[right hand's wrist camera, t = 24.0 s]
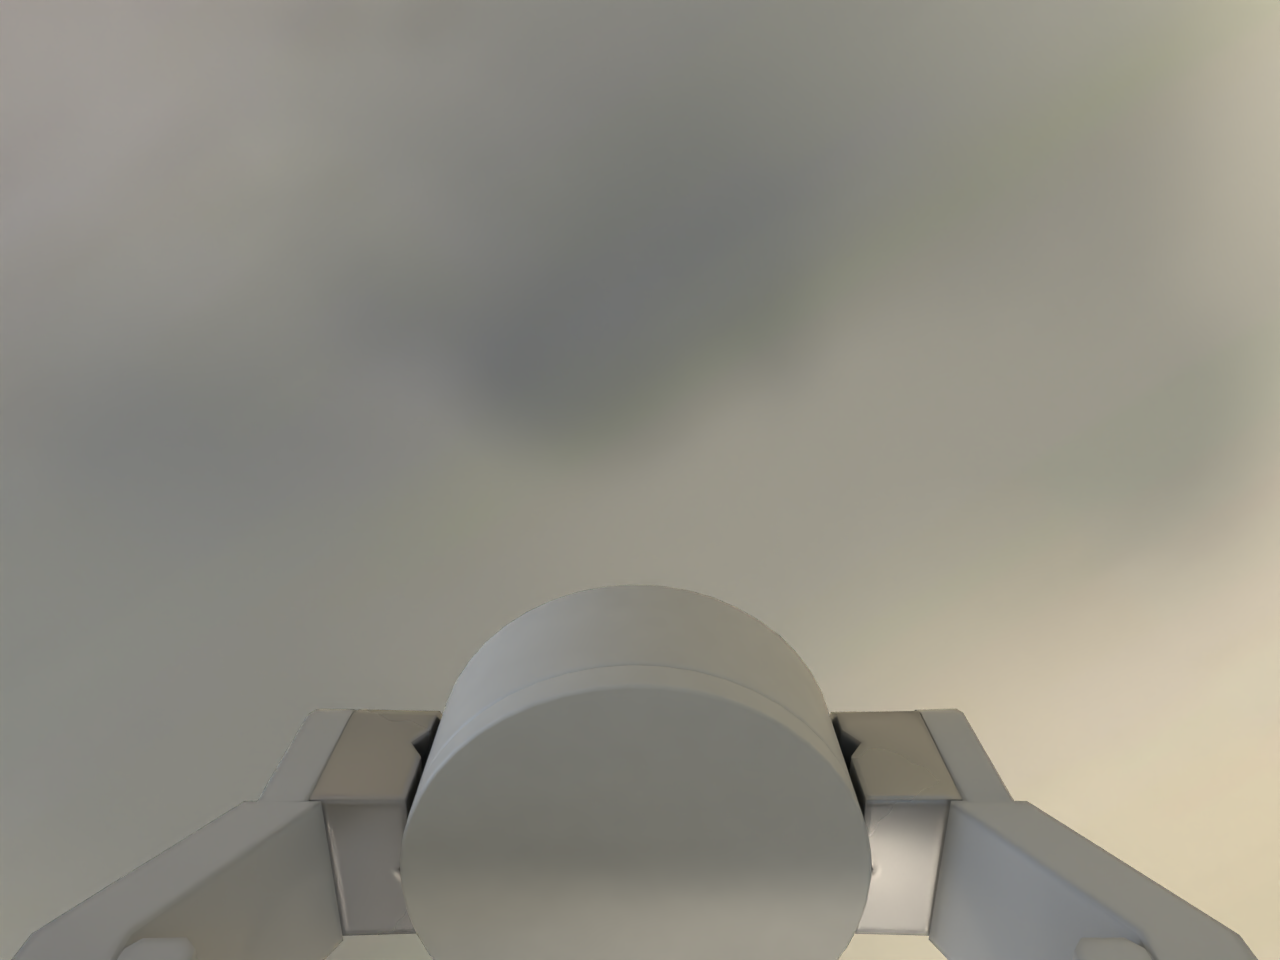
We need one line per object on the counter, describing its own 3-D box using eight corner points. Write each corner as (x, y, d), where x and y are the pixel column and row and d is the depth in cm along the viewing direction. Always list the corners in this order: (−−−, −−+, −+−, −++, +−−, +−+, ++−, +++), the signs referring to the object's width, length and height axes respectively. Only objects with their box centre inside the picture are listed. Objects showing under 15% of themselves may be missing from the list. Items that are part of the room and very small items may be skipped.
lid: (866, 858, 11) (910, 1000, 9) (515, 937, 12) (492, 1086, 10) (784, 536, 9) (817, 630, 8) (380, 640, 10) (323, 754, 8)
